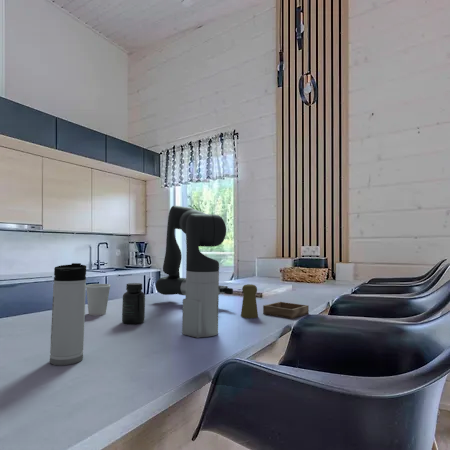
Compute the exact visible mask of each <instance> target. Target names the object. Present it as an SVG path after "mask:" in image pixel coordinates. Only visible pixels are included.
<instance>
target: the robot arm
mask: <svg viewBox="0 0 450 450" xmlns="http://www.w3.org/2000/svg"><path fill="white" fill-rule="evenodd" d="M166 227H167V228H166V241H165V242H166V243H165V252H164V253H165V254H164V259H163V265H162V271H163V273H164V274H166V275H167V276H163V277H161V278H160V277H159V278H158V279H157V281H155V289H156V291H157V292H158V293H159V294H161V295H165V296H171V295H180V296H185V298H183V299H182V321H181V322H182V323H181V324H182V325H181V327H182V328H181V333H182V335H185V336H188V337H193V338H196V339H197V338H207V337H213V336H217V335H218V334H219V297H220V295H221V294H224V295H225V294H227V295H233V294H234V289H233V288H231V287H229V286H227V285H226V286H225V285H219V283H220V263H219V261H218V260H216V259H214V258H211V257H209V256H206V255H205V254H204V253H203V252H201V251H200V247H209V248H211V247H218V246H220V245H222V243H224V241H225V239H226V236H227V227H226V223H225V220H224V219H223V217H221V216H220V215H219V214H214V213H213V214H212V213H211V214H209V213H205V212H203V211H201V210H197V209H194V208H192V207H188V206H181V205H172V206H171V208H170V209H169V213H168V217H167V226H166ZM176 230H181V231H182V232H183V233H184V234H185V239H186V240H185V244H186V260H185V261H186V264H185V267H186V268H185V277H180V268H181V264H182V263H181V262H182V251H181V248H180V246H179V244H178V241H177V239H176V235H175V231H176Z"/></svg>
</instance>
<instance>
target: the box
mask: <svg viewBox="0 0 450 450" xmlns="http://www.w3.org/2000/svg"><path fill="white" fill-rule="evenodd" d="M309 306H310V305H307V304H302V303H301V304H299V303H291V302H285V301H277V302H273V303H269V304H265V305H264V304H263V306H262V307H263V308H262V309H263V311H262V315H267V316H273V317H281V318H285V319H290V320H294V319H297V318H299V317H303V316H306V315H309V313H310V311H309V309H310V307H309Z"/></svg>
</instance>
